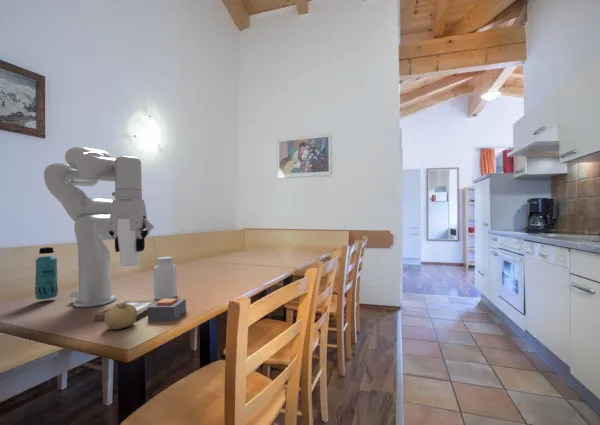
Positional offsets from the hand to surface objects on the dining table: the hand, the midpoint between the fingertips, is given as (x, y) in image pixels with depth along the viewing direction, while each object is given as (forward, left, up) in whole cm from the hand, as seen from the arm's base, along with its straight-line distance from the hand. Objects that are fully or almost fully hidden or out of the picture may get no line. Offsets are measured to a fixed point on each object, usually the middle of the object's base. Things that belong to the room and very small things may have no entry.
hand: (129, 250), depth 98 cm
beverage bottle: (-40, +13, -20) cm, 47 cm away
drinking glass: (0, 0, -5) cm, 5 cm away
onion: (+5, -13, -20) cm, 24 cm away
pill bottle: (+3, +17, -20) cm, 26 cm away
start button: (+14, -4, -18) cm, 23 cm away
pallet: (0, 0, -20) cm, 20 cm away
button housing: (+14, -4, -20) cm, 25 cm away
